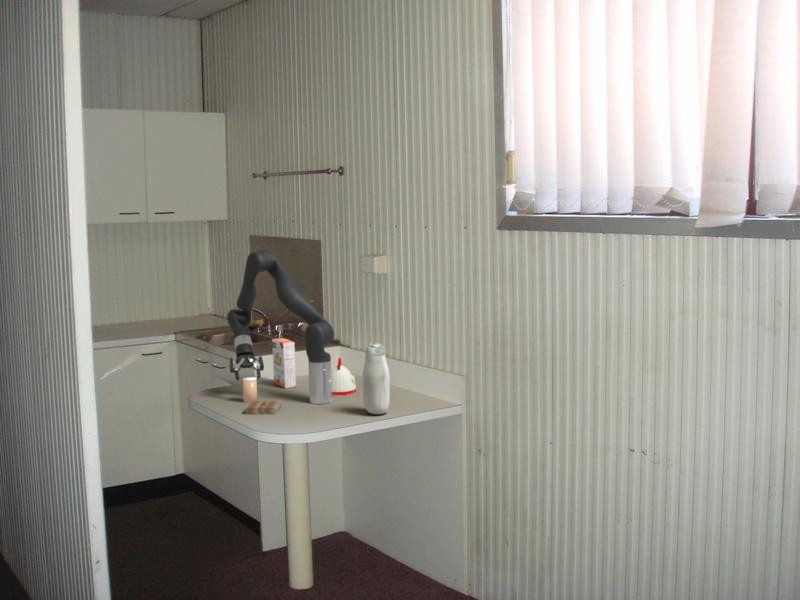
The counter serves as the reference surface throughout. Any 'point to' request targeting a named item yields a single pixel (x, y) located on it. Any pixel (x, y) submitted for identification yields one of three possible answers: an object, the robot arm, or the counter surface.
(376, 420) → the counter surface
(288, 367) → the cracker box
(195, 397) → the counter surface
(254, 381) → the terracotta canister
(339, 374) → the kitchen timer
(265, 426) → the counter surface
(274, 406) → the walnut board
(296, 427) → the counter surface
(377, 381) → the glass bottle
